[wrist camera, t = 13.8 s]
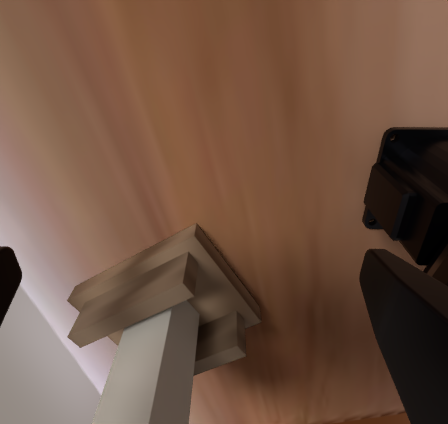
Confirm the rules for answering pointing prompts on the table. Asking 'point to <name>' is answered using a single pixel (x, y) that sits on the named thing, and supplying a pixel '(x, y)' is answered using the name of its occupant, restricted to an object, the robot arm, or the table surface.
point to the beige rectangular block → (152, 370)
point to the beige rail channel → (170, 297)
